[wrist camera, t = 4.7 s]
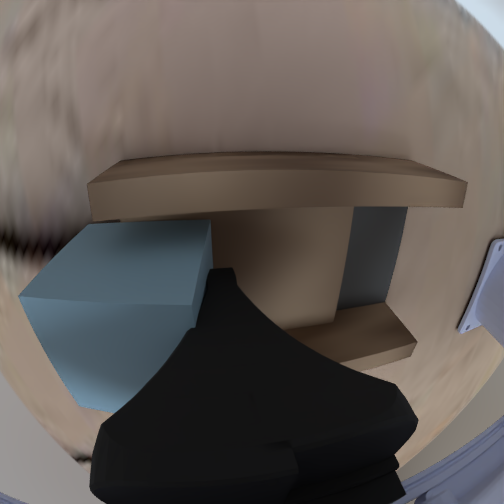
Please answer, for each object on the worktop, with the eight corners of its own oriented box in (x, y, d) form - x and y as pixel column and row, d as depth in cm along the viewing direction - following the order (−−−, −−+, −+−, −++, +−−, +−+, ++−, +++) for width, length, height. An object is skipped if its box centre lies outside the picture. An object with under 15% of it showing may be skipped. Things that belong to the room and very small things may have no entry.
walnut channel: (412, 160, 11) (467, 182, 8) (378, 314, 15) (410, 356, 12) (120, 160, 9) (86, 184, 6) (153, 341, 13) (148, 400, 10)
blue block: (210, 219, 9) (192, 305, 5) (217, 325, 11) (211, 421, 7) (88, 223, 9) (17, 295, 5) (114, 322, 11) (79, 406, 7)
